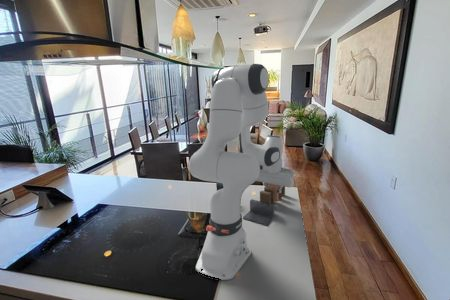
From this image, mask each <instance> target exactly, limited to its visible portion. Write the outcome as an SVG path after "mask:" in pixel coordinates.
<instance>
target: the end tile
mask: <svg viewBox="0 0 450 300" xmlns="http://www.w3.org/2000/svg"><path fill="white" fill-rule="evenodd" d="M285 195H286V187H284V186H283V187H282V197H285Z"/></svg>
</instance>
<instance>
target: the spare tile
mask: <svg viewBox="0 0 450 300" xmlns="http://www.w3.org/2000/svg"><path fill="white" fill-rule="evenodd" d="M267 185H268V187H269V188H274V189H275V203H278V202H279V199H278V193H277V190H278V189H279V185H274V184H269V183H267Z"/></svg>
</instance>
